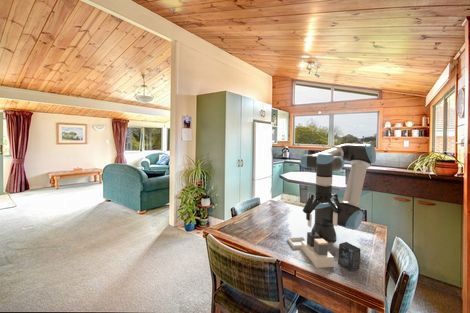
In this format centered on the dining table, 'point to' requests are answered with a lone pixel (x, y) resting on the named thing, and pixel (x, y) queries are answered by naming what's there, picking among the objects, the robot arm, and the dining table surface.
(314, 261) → the beige socket block
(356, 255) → the box
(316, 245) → the plug
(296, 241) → the tray
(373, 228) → the dining table surface
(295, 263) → the dining table surface
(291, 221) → the dining table surface
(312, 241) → the twin plug
